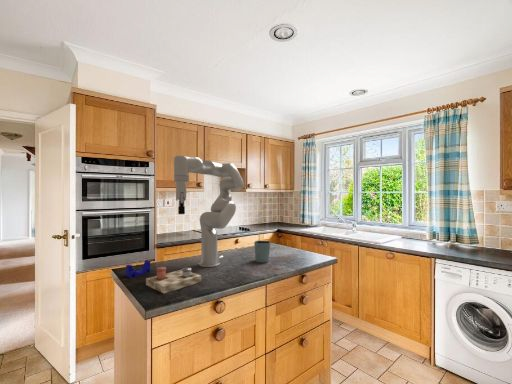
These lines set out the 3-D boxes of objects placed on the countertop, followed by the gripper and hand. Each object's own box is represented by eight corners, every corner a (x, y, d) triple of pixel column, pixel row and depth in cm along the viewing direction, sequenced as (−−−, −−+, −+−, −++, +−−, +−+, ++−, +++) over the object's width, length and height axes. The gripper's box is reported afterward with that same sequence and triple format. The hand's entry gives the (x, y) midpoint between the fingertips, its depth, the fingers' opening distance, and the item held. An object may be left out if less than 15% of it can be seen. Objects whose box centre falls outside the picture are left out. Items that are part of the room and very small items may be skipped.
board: (182, 274, 142) (182, 269, 142) (201, 281, 132) (201, 275, 132) (146, 284, 127) (146, 278, 127) (163, 293, 117) (163, 286, 117)
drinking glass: (251, 260, 172) (251, 241, 172) (262, 257, 179) (262, 239, 178) (261, 263, 164) (262, 244, 164) (273, 260, 171) (273, 241, 171)
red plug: (163, 279, 131) (163, 266, 131) (168, 281, 128) (168, 268, 128) (154, 281, 128) (154, 268, 128) (159, 283, 125) (159, 270, 125)
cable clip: (130, 278, 138) (130, 266, 138) (126, 276, 140) (126, 265, 140) (151, 272, 147) (151, 261, 147) (147, 270, 150) (147, 260, 150)
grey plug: (187, 279, 135) (187, 266, 135) (193, 281, 132) (193, 268, 132) (179, 281, 131) (179, 268, 131) (185, 283, 128) (185, 270, 128)
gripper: (173, 179, 149) (173, 213, 149) (174, 178, 134) (174, 215, 135) (187, 179, 151) (187, 212, 151) (189, 178, 137) (189, 215, 137)
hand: (181, 214), depth 143 cm, fingers closed
